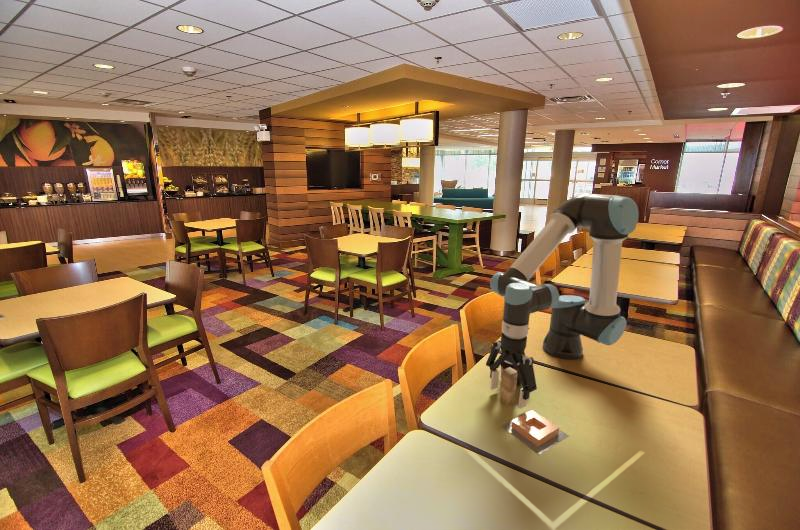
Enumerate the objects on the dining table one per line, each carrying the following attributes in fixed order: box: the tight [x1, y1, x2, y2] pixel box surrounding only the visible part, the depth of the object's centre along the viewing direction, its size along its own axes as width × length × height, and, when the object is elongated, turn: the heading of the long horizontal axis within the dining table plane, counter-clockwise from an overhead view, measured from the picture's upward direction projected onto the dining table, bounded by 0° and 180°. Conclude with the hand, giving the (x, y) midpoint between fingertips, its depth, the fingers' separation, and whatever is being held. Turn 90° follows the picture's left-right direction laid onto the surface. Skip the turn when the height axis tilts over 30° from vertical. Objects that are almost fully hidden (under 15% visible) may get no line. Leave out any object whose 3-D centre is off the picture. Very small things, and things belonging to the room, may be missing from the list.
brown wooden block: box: [499, 367, 518, 406], centre depth 118 cm, size 3×3×12 cm
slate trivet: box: [501, 410, 570, 456], centre depth 107 cm, size 13×13×1 cm
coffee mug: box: [500, 352, 524, 388], centre depth 131 cm, size 12×9×10 cm
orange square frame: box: [511, 409, 560, 447], centre depth 106 cm, size 9×9×2 cm
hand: (507, 397), depth 119 cm, fingers open, 11 cm apart
